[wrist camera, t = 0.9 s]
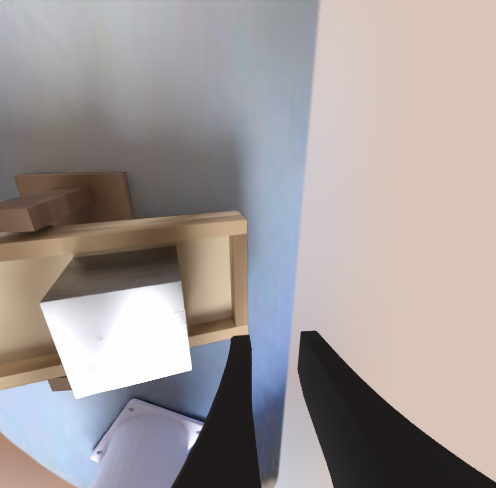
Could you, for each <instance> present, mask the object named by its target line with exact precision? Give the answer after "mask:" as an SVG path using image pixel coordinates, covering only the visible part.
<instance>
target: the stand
mask: <svg viewBox="0 0 496 488" xmlns="http://www.w3.org/2000/svg"><path fill="white" fill-rule="evenodd" d="M14 177H15V180H16V183H17V186H18V189H19V192H20V195H21V197H19V198H15V199H12V200H8V201H5V202H1V203H0V232H28V231H36V230H38V229H40V228H42V227H44V226H46V225H53V226H65V225H77V224H88V223H99V222H111V221H122V220H133V219H134V217H133V212H132V207H131V201H130V196H129V190H128V185H127V180H126V174H125V173H67V174H23V175H17V176H14ZM48 382H49V384H50V387H51V389H52V391H65V390H72V387H71V385H70V382H69V379H68V377H67V375H66V376H62V377H57V378H53V379H48Z"/></svg>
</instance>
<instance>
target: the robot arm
mask: <svg viewBox="0 0 496 488" xmlns="http://www.w3.org/2000/svg"><path fill="white" fill-rule="evenodd" d="M298 374H299V378H300V383H301V387H302V391H303V396H304V399H305V402H306V405H307V408H308V411H309V414H310V417H311V419H312V422H313V425H314V428H315V431H316V434H317V436H318V440H319V443H320V445H321V448H322V451H323V454H324V457H325V460H326V463H327V466H328V469H329V472H330V476H331V479H332V483H333V487H334V488H496V482H494V481H493V480H491V479H490V478H488V477H487V476H485V475H484V474H482V473H481V472H479V471H477V470H476V469H475V468H473V467H472V466H470V465H469V464H467V463H466V462H464V461H463V460H461V459H460V458H459V457H457V456H456V455H454V454H453V453H451V452H450V451H449V450H447V449H446V448H445V447H443V446H442V445H441V444H439V443H438V442H436V441H435V440H434V439H432V438H431V437H430V436H428V435H427V434H425V433H424V432H423V431H422V430H420V429H419V428H418V427H416V426H415V425H414V424H412V423H411V422H410V421H409V420H408V419H406V418H405V417H404V416H403V415H402V414H400V413H399V412H398V411H397V410H395V409H394V408H393V407H392V406H391V405H390V404H388V403H387V402H386V401H385V400H384V399H383V398H382V397H381V396H379V395H378V394H377V393H376V392H375V391H374V390H373V389H372V388H371V387H370V386H369V385H367V383H366V382H364V381H363V380H362V379H361V378H360V377H359V376H358V375H357V374H356V373H355V372H354V371H353V370H352V369H351V368H350V367H349V366H348V365H347V364H346V362H345V361H344V360H343V359H342V358H341V357H340V356H339V355H338V354H337V353H336V352H335V351H334V350H333V349H332V347H331V346H330V345H329V344H328V343H327V342H326V341H325V340H324V339H323V338H322V337H321V335H320V334H319V333H318V332H317V331H302V332H301V336H300V347H299V359H298ZM193 444H194V445H193ZM192 445H193V447H192ZM191 447H192V449H191V451H190V453H189V455H188V457H187V452H188V450H189V449H190V448H191ZM90 458H91V460H93V461H97V462H99V464H98V467H97V469H96V472H95V474H94V477H93V479H92V482H91V485H90V487H89V488H261V482H260V474H259V466H258V457H257V448H256V440H255V431H254V422H253V413H252V348H251V342H250V336H249V335H236V336H233V337H232V338H231V345H230V351H229V355H228V359H227V363H226V367H225V370H224V373H223V376H222V379H221V382H220V385H219V388H218V391H217V393H216V396H215V398H214V401H213V404H212V406H211V409H210V411H209V413H208V416H207V418H206V420H205V422H204V423H203V422H200V421H198V420H195V419H192V418H189V417H186V416H184V415H181V414H178V413H175V412H172V411H169V410H167V409H164V408H161V407H158V406H155V405H153V404H150V403H147V402H144V401H141V400H138V399H131V400H130V401H129V402H128V404H127V405H126V406H125V408H124V409H123V411H122V412H121V413H120V415H119V416H118V418H117V419H116V420H115V422H114V423H113V425H112V426H111V427H110V429H109V430H108V432H107V433H106V434H105V436H104V437H103V438H102V440H101V441H100V443H99V444H98V445H97V447H96V448H95V450H94V451H93V452H92V454H91V457H90Z"/></svg>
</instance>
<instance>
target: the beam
mask: <svg viewBox="0 0 496 488" xmlns="http://www.w3.org/2000/svg"><path fill="white" fill-rule="evenodd" d="M168 246H176V247H177V254H178V262H179V269H180V276H181V284H182V292H183V300H184V308H185V316H186V324H187V332H188V341H189V348H190V347H195V346H199V345H204V344H208V343H212V342H217V341H221V340H226V339H230V338H232V337H233V336H236V335H248V284H247V219H246V218H245V217H244V216H243V215H241V214H240V213H239V212H238V211H237V210H236V211H224V212H213V213H202V214H190V215H179V216H168V217H156V218H145V219H133V220H122V221H111V222H99V223H88V224H77V225H65V226H53V225H46V226H44V227H42V228H40V229H38V230H36V231H28V232H0V390H4V389H9V388H13V387H17V386H22V385H26V384H31V383H35V382H40V381H44V380H48V379H53V378H57V377H62V376H66V375H67V374H66V372H65V369H64V366H63V364H62V361H61V358H60V356H59V353H58V351H57V348H56V345H55V343H54V340H53V337H52V335H51V332H50V330H49V327H48V324H47V322H46V319H45V316H44V314H43V311H42V309H41V306H40V302H41V300H42V299H43V298H44V296H45V295H46V294H47V292H48V291H49V289H50V288H51V287H52V285H53V284H54V283H55V281H56V280H57V279H58V277H59V276H60V275H61V273H62V272H63V271H64V269H65V268H66V267H67V265H68V264H69V262H70V261H71V260H72V258H75V257H83V256H92V255H100V254H109V253H117V252H126V251H134V250H143V249H151V248H159V247H168Z"/></svg>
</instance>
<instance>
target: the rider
mask: <svg viewBox="0 0 496 488" xmlns="http://www.w3.org/2000/svg"><path fill="white" fill-rule="evenodd" d="M40 306H41V309H42V311H43V314H44V316H45V319H46V322H47V324H48V327H49V330H50V332H51V335H52V337H53V340H54V343H55V345H56V348H57V351H58V353H59V356H60V358H61V361H62V364H63V366H64V369H65V372H66V374H67V377H68V379H69V382H70V385H71V387H72V390H73V393H74V395H75V398H76V399H78V398H82V397H86V396H90V395H94V394H98V393H102V392H106V391H110V390H114V389H118V388H122V387H126V386H130V385H134V384H138V383H142V382H146V381H150V380H154V379H158V378H162V377H166V376H170V375H174V374H178V373H182V372H186V371H190V370H192V365H191V357H190V349H189V341H188V332H187V324H186V316H185V308H184V300H183V292H182V284H181V276H180V269H179V262H178V254H177V247H176V246H168V247H159V248H151V249H143V250H134V251H126V252H117V253H109V254H100V255H92V256H83V257H75V258H72V260H71V261H70V262H69V264H68V265H67V267H66V268H65V269H64V271H63V272H62V273H61V275H60V276H59V277H58V279H57V280H56V281H55V283H54V284H53V285H52V287H51V288H50V289H49V291H48V292H47V294H46V295H45V296H44V298H43V299H42V300H41V302H40Z"/></svg>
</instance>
